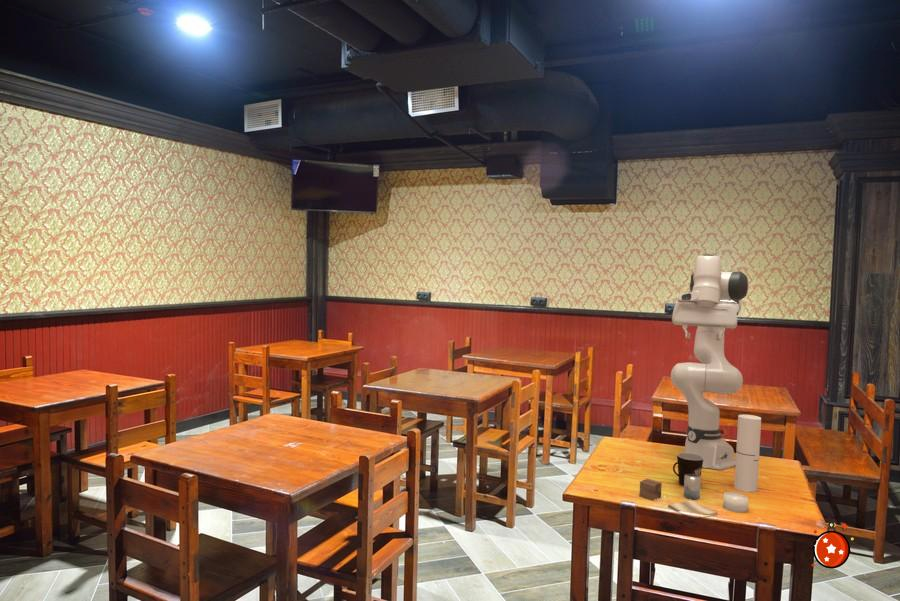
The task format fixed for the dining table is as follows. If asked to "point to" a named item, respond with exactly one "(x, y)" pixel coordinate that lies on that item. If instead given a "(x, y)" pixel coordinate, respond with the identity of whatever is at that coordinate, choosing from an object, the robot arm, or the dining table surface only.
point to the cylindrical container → (747, 453)
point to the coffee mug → (688, 465)
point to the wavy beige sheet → (692, 508)
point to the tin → (692, 486)
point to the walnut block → (650, 489)
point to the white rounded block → (735, 502)
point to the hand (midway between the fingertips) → (702, 338)
